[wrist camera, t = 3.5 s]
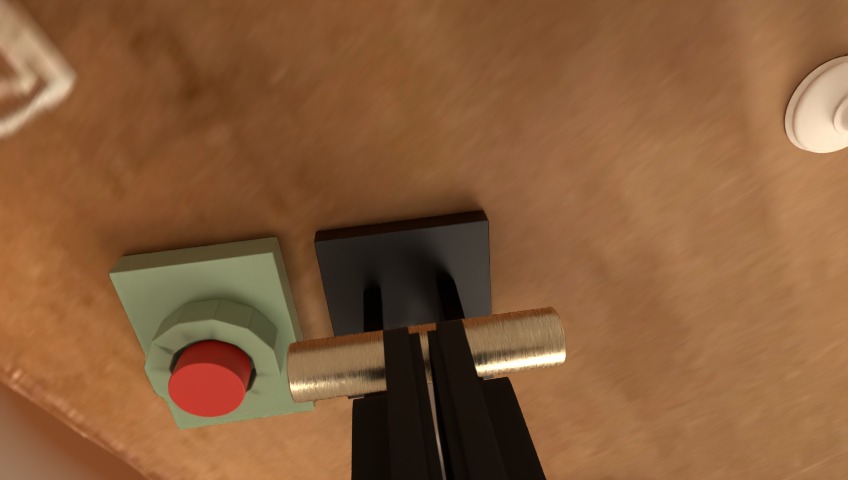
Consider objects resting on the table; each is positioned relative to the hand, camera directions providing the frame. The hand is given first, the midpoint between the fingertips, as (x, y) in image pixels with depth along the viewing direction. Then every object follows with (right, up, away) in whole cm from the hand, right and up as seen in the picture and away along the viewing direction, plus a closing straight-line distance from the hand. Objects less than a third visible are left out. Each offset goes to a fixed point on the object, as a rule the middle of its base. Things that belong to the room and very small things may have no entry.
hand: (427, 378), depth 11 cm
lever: (0, -2, +6) cm, 6 cm away
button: (-11, -4, +16) cm, 20 cm away
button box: (-11, -2, +19) cm, 22 cm away
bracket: (-1, -1, +19) cm, 19 cm away
